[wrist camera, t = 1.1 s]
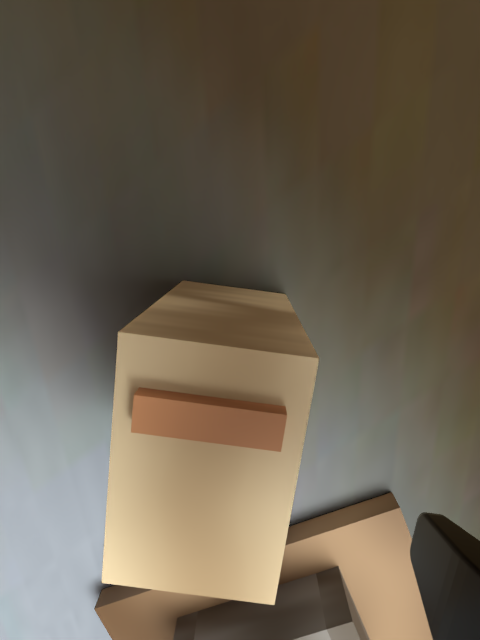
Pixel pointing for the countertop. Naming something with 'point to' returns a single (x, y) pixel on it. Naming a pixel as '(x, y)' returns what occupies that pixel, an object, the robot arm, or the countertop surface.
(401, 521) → the holder
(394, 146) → the countertop surface
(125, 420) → the keyed block
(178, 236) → the countertop surface
